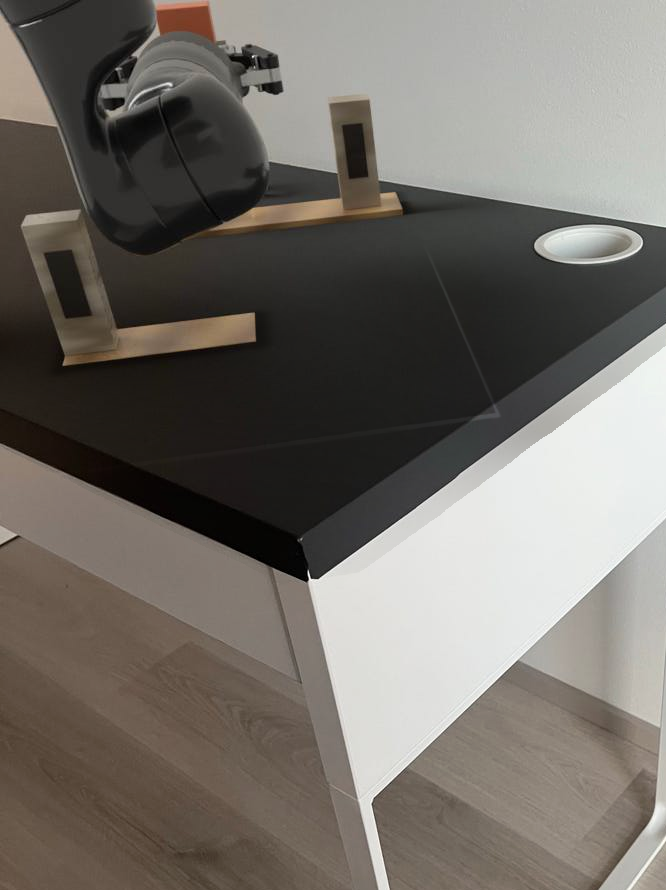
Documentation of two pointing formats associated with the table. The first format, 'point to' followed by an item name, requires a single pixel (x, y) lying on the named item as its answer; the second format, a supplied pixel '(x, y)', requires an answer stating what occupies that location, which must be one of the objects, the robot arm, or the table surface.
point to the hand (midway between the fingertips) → (195, 58)
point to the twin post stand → (353, 177)
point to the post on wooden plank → (87, 307)
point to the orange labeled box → (186, 19)
